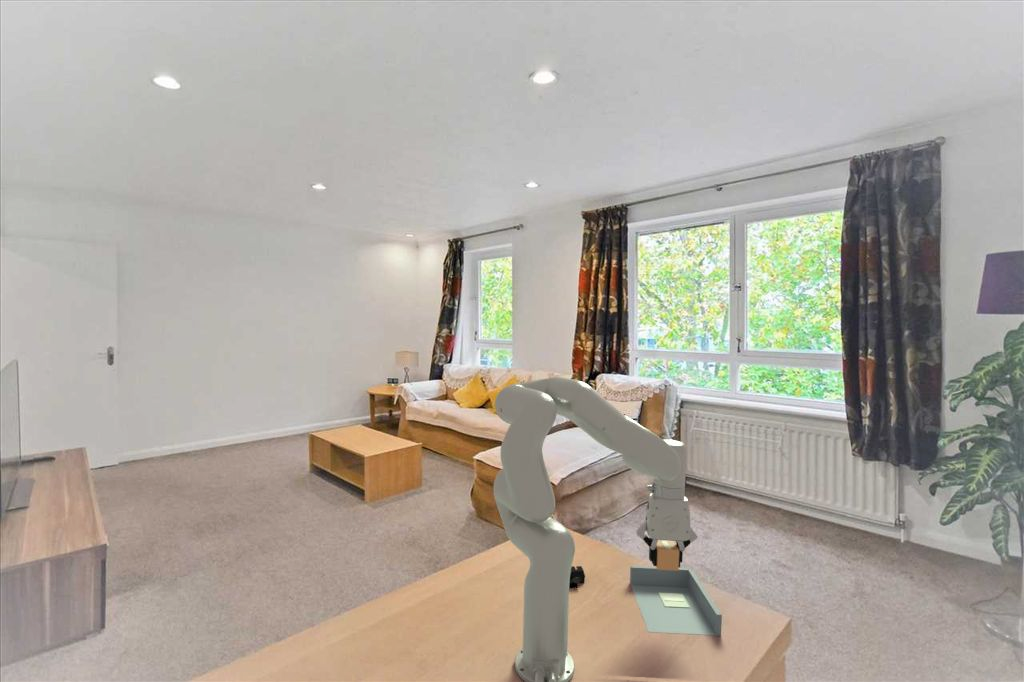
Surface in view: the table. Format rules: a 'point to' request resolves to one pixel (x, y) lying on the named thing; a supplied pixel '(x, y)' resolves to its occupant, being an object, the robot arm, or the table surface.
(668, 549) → the cube
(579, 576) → the black hollow angular block
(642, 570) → the grey blue tray
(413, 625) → the table surface
